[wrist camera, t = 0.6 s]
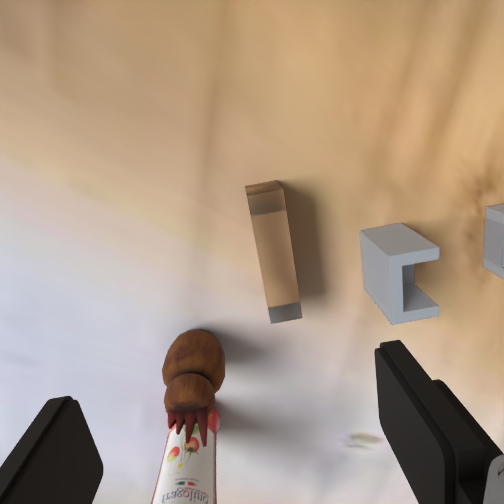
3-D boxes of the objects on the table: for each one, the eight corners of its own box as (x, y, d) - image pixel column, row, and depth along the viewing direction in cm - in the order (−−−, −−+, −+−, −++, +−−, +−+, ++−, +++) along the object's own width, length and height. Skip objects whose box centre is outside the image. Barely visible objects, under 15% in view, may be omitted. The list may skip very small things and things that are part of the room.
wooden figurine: (231, 331, 44) (231, 430, 30) (217, 368, 46) (211, 478, 32) (177, 316, 43) (151, 413, 29) (165, 355, 45) (135, 463, 31)
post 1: (359, 230, 40) (388, 256, 33) (400, 222, 40) (439, 247, 33) (363, 288, 43) (391, 324, 36) (402, 281, 43) (438, 316, 36)
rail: (266, 301, 43) (271, 323, 38) (245, 186, 38) (247, 196, 33) (294, 296, 43) (302, 318, 38) (276, 180, 38) (283, 189, 33)
